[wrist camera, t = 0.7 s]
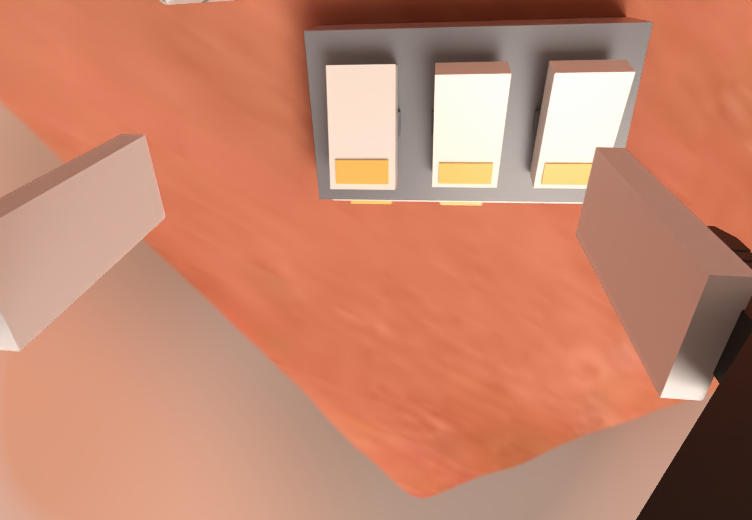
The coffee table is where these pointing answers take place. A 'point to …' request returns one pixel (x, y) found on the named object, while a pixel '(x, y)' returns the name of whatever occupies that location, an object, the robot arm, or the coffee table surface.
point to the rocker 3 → (578, 119)
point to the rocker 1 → (362, 126)
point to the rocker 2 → (469, 123)
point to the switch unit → (466, 44)
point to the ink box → (187, 1)
